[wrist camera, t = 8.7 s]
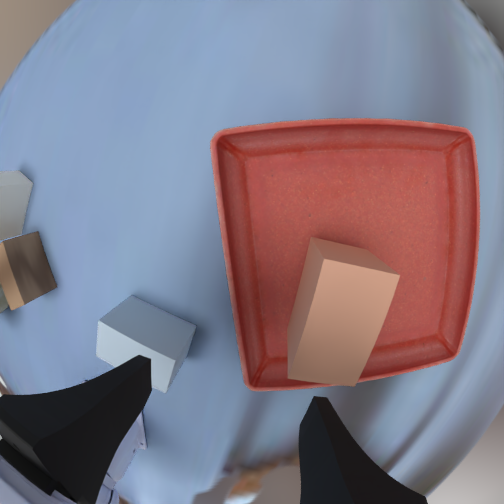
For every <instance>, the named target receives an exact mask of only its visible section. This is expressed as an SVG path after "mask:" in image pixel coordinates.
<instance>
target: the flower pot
mask: <svg viewBox="0 0 504 504" xmlns="http://www.w3.org/2000/svg"><path fill="white" fill-rule="evenodd" d="M8 305H9V304H8V301H7V299H6V296H5V294H4V291H3V288H2V285H1V283H0V313H1V312H3V311H4V310H5V309H7V307H8Z"/></svg>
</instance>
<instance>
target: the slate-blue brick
mask: <svg viewBox="0 0 504 504" xmlns="http://www.w3.org/2000/svg"><path fill="white" fill-rule="evenodd" d="M196 327H197V325H194V324H192V323H190V322H187V321H185V320H183V319H181V318H179V317H176V316H174V315H172V314H170V313H168V312H165V311H163V310H161V309H159V308H157V307H155V306H153V305H151V304H149V303H147V302H145V301H143V300H141V299H139V298H137V297H135V296H133V295H131V296H130V297H128V298H127V299H126V300H124V301H123V302H122V303H120V304H119V305H118V306H116V307H115V308H114V309H112V310H111V311H110V312H108V313H107V314H106V315H105V316H103V317H102V318H101V319H99V320H98V332H97V348H96V356H97V357H99V358H100V359H102V360H104V361H105V362H107V363H109V364H110V365H112V366H114V367H115V368H116V367H118V366H119V365H121V364H123V363H125V362H126V361H128V360H130V359H132V358H134V357H135V356H137V355H142V356H145V357H147V358H150V359H151V381H152V387H153V388H155V389H157V390H159V391H161V392H164V393H166V392H167V391H168V389H169V387H170V385H171V384H172V382H173V380H174V378H175V376H176V375H177V373H178V371H179V369H180V368H181V366H182V364H183V362H184V360H185V359H186V357H187V354H188V351H189V348H190V345H191V342H192V339H193V336H194V333H195V330H196Z"/></svg>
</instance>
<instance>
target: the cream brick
mask: <svg viewBox="0 0 504 504" xmlns="http://www.w3.org/2000/svg"><path fill="white" fill-rule="evenodd" d="M32 186H33V183H32V182H31V181H30V180H29V179H28V178H27V177H26V176H25V175H24V174H22V173H21V172H20V171H0V240H3V239H7V238H10V237H14V236H18V235H21V234H22V230H23V225H24V220H25V215H26V210H27V206H28V202H29V198H30V194H31V190H32Z"/></svg>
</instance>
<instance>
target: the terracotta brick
mask: <svg viewBox="0 0 504 504" xmlns="http://www.w3.org/2000/svg"><path fill="white" fill-rule="evenodd" d="M399 278H400V275H399V274H398V273H397V272H395V271H394V270H393V269H392V268H390V267H389V266H388V265H386V264H385V263H384V262H383V261H381V260H380V259H379V258H377V257H376V256H375V255H373V254H372V253H371V252H369V251H368V250H366V249H362V248H358V247H353V246H349V245H345V244H340V243H336V242H332V241H327V240H323V239H318V238H314V237H311V239H310V243H309V247H308V251H307V256H306V260H305V264H304V268H303V272H302V276H301V280H300V284H299V288H298V291H297V295H296V299H295V303H294V307H293V310H292V314H291V318H290V321H289V325H288V328H287V344H288V379H294V380H301V381H308V382H316V383H324V384H333V385H343V386H354V387H355V385H356V383H357V381H358V379H359V377H360V375H361V373H362V371H363V369H364V367H365V365H366V362H367V360H368V358H369V356H370V354H371V351H372V349H373V347H374V345H375V342H376V340H377V338H378V335H379V333H380V330H381V328H382V325H383V323H384V320H385V318H386V315H387V312H388V310H389V307H390V304H391V301H392V299H393V296H394V293H395V290H396V287H397V284H398V281H399Z"/></svg>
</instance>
